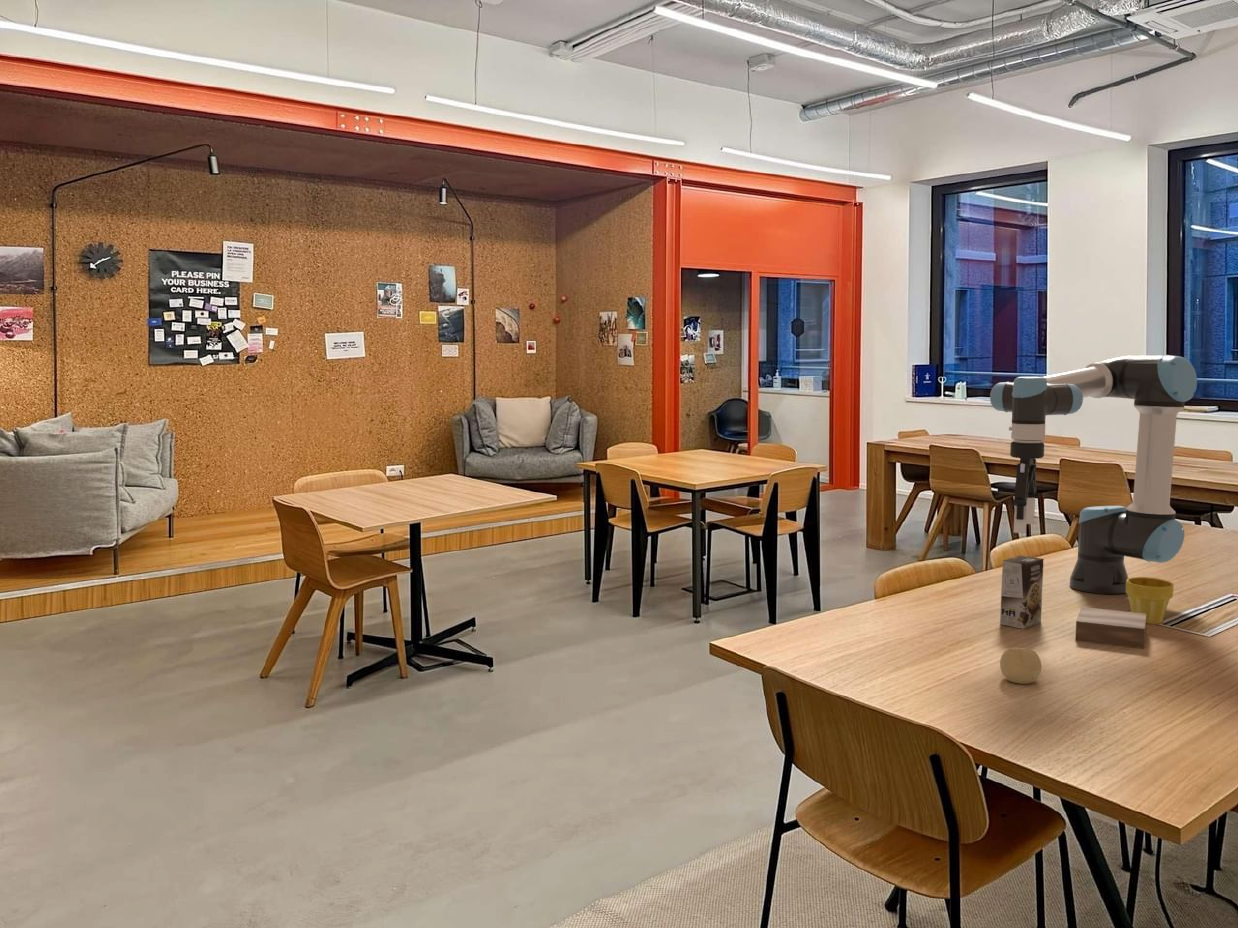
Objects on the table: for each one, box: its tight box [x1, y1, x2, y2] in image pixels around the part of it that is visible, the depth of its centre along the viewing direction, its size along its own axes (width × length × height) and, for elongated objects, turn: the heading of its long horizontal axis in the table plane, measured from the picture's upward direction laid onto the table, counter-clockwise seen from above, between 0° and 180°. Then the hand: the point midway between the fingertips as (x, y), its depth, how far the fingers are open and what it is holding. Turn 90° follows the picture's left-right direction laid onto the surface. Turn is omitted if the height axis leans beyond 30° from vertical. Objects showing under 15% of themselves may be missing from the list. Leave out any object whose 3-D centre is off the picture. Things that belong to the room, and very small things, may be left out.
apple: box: [999, 647, 1043, 685], centre depth 202 cm, size 8×8×8 cm
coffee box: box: [999, 555, 1045, 630], centre depth 243 cm, size 9×6×16 cm
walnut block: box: [1074, 606, 1147, 650], centre depth 232 cm, size 14×14×5 cm
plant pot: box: [1125, 576, 1174, 625], centre depth 244 cm, size 10×10×10 cm
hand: (1024, 528), depth 241 cm, fingers open, 13 cm apart
